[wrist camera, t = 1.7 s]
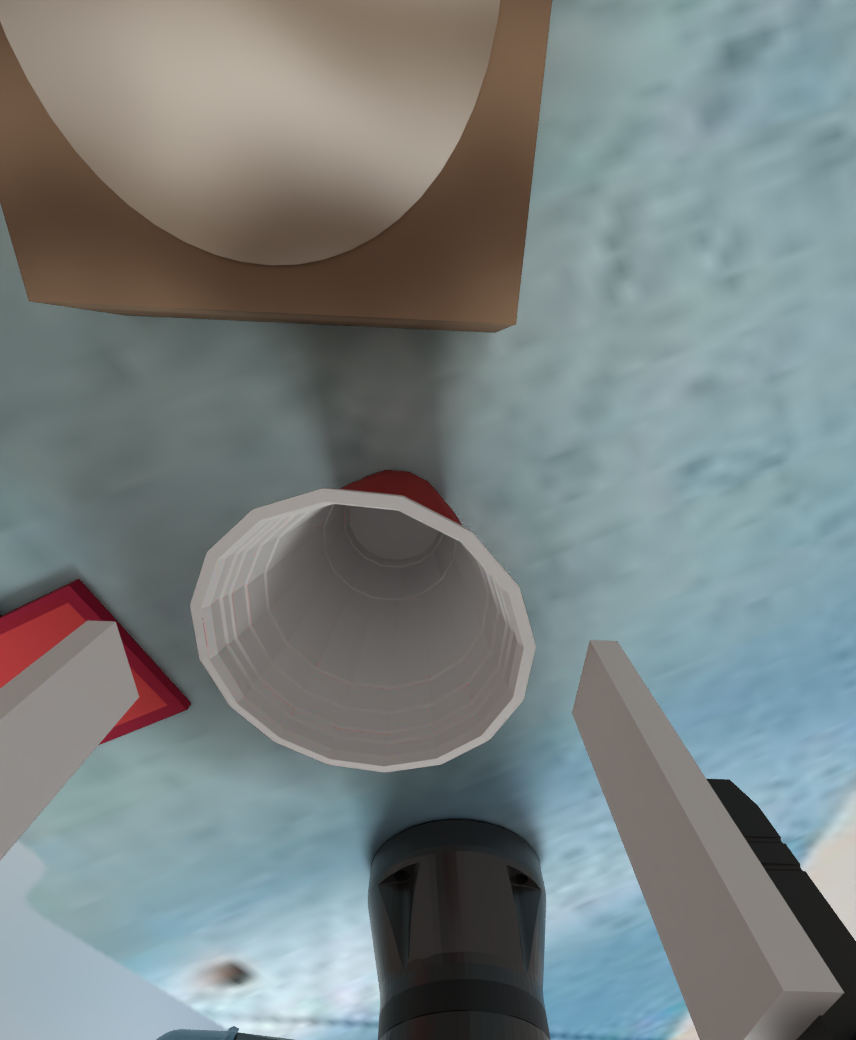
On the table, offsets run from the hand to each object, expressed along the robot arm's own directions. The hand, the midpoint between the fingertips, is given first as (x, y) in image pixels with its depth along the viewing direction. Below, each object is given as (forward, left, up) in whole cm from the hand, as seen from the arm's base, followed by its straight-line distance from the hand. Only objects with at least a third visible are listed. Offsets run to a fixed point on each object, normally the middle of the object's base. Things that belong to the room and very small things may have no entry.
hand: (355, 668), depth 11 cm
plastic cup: (0, 0, -13) cm, 13 cm away
